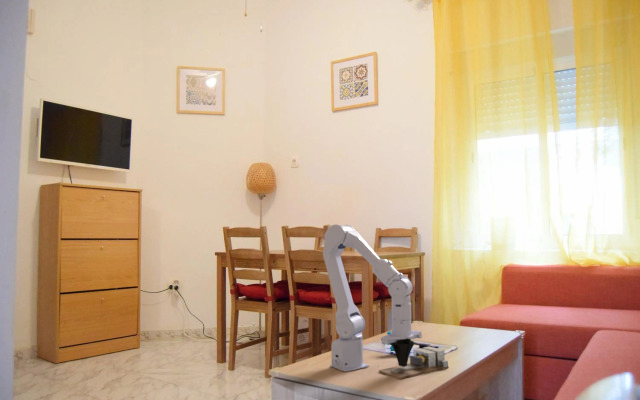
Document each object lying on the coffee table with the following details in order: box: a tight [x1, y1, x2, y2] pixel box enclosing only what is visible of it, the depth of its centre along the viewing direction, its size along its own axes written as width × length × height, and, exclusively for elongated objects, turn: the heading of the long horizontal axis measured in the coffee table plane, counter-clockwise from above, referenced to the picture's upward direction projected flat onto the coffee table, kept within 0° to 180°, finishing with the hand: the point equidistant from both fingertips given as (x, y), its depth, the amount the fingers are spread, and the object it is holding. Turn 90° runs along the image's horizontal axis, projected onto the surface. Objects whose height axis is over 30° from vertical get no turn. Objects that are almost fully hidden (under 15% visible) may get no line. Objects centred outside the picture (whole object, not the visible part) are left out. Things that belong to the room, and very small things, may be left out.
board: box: [378, 362, 449, 380], centre depth 145 cm, size 20×9×1 cm, turn 124°
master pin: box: [409, 355, 426, 367], centre depth 148 cm, size 10×4×2 cm, turn 124°
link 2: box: [422, 346, 449, 367], centre depth 149 cm, size 3×8×4 cm, turn 34°
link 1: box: [413, 348, 436, 368], centre depth 148 cm, size 3×8×4 cm, turn 34°
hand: (402, 365), depth 142 cm, fingers closed
